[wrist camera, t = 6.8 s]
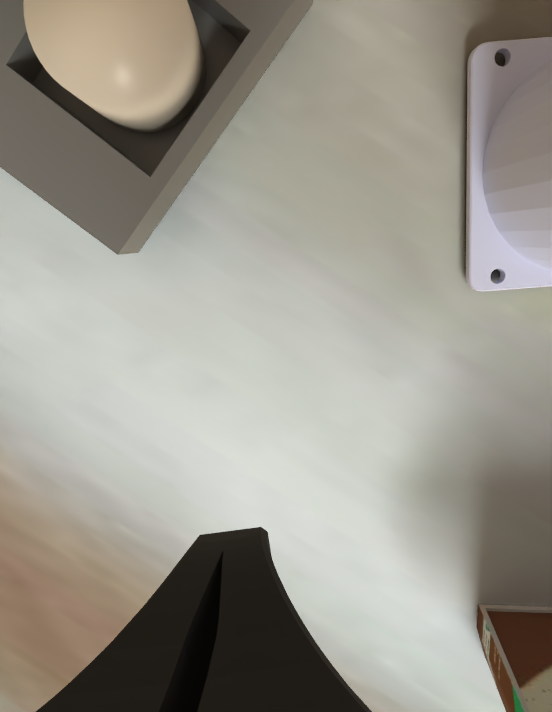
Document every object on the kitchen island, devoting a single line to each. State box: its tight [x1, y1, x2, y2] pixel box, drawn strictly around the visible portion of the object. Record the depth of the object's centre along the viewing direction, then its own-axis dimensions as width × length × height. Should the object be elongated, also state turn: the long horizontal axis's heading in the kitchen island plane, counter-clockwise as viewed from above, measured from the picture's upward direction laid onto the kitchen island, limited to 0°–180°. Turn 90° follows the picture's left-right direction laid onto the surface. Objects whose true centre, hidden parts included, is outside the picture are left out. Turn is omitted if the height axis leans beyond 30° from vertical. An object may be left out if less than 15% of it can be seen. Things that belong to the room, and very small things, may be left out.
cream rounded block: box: [23, 0, 206, 133], centre depth 14 cm, size 4×4×4 cm
